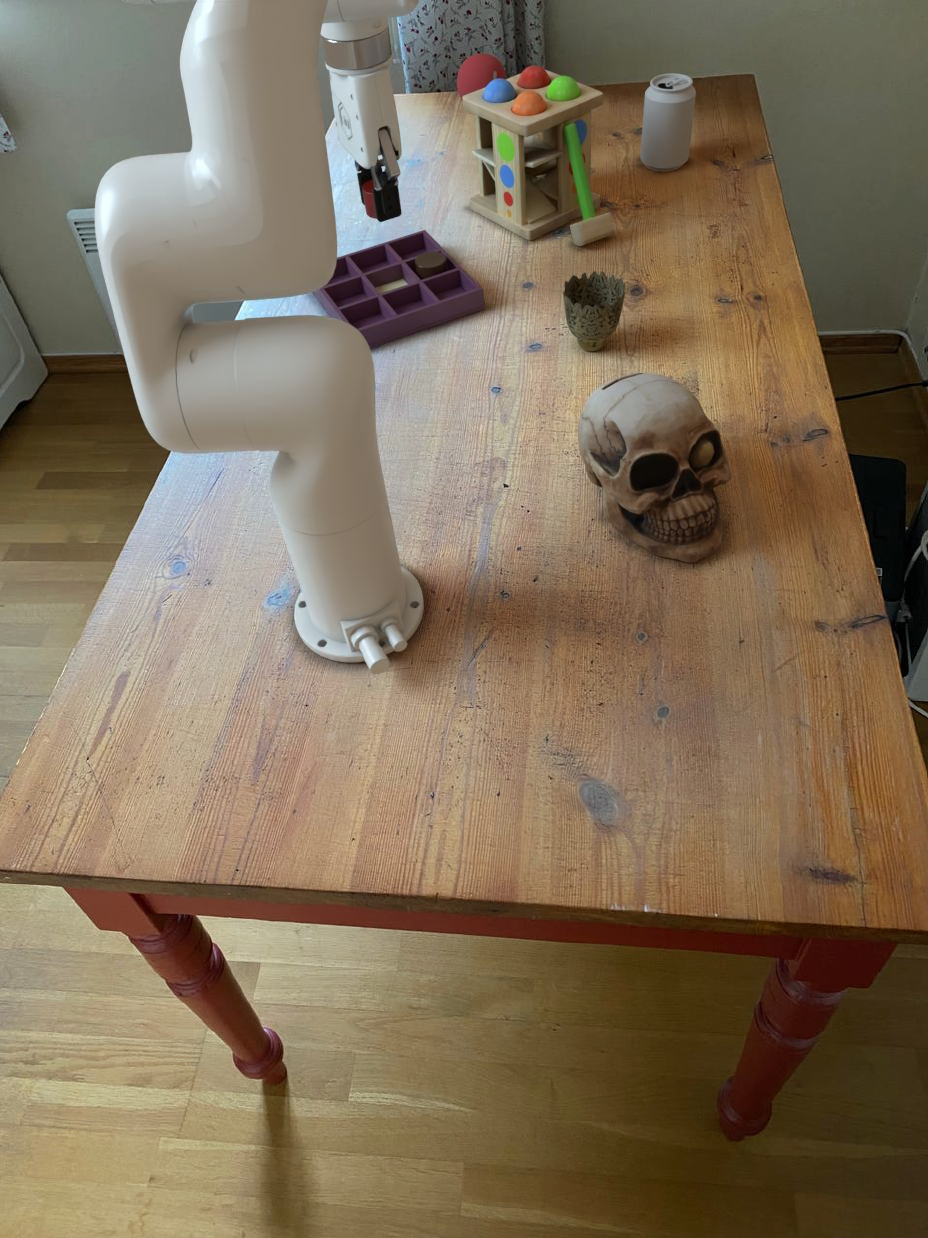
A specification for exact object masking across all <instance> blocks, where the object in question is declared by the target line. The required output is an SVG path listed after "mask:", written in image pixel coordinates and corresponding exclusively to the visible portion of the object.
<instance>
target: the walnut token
mask: <svg viewBox="0 0 928 1238" xmlns="http://www.w3.org/2000/svg"><path fill="white" fill-rule="evenodd" d="M415 265H416V273H417V276H418V277H419V278H420V279H421V280H423V279H426V278H429V277H432V276H435V275H438V274H441V273H444V272H447V266H446V257H445V255H444V254H442V253H440V252H434V251H432V252H425V253H422V254H420V255H419V256H417V257H416V259H415Z"/></svg>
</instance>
